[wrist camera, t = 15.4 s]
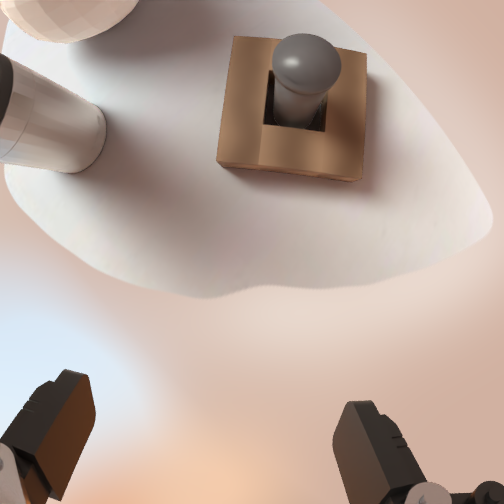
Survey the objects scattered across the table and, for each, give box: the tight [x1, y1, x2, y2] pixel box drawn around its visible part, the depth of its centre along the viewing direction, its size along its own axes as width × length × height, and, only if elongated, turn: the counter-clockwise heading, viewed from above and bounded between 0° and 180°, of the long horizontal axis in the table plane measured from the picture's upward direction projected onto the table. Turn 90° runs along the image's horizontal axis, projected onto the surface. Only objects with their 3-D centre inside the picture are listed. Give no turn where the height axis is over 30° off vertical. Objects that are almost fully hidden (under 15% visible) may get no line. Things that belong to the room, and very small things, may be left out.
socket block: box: [216, 36, 367, 182], centre depth 31 cm, size 14×14×4 cm
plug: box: [272, 34, 342, 129], centre depth 26 cm, size 5×5×13 cm
